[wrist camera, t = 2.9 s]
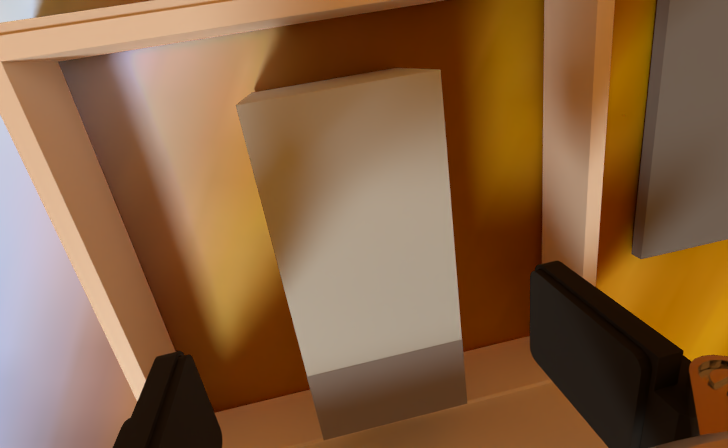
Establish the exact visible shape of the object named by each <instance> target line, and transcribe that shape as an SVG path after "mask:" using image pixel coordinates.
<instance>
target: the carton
mask: <svg viewBox="0 0 728 448" xmlns="http://www.w3.org/2000/svg"><path fill="white" fill-rule="evenodd" d="M438 1H445V0H152V1H145V2H139V3H132V4H125V5H118V6H112V7H105V8H98V9H91V10H85V11H78V12H71V13H64V14H57V15H51V16H44V17H37V18H30V19H24V20H17V21H10V22H3V23H0V115H1V117H2V119H3V121H4V123H5V125H6V127H7V129H8V131H9V133H10V136H11V138H12V140H13V142H14V144H15V146H16V148H17V150H18V152H19V154H20V157H21V159H22V161H23V163H24V165H25V167H26V169H27V171H28V173H29V175H30V178H31V180H32V182H33V184H34V186H35V188H36V190H37V192H38V194H39V196H40V198H41V201H42V203H43V205H44V207H45V209H46V211H47V213H48V215H49V217H50V219H51V222H52V224H53V226H54V228H55V230H56V232H57V234H58V236H59V238H60V240H61V243H62V245H63V247H64V249H65V251H66V253H67V255H68V257H69V259H70V261H71V264H72V266H73V268H74V270H75V272H76V274H77V276H78V278H79V280H80V282H81V285H82V287H83V289H84V291H85V293H86V295H87V297H88V299H89V301H90V303H91V305H92V308H93V310H94V312H95V314H96V316H97V318H98V320H99V322H100V324H101V326H102V329H103V331H104V333H105V335H106V337H107V339H108V341H109V343H110V345H111V347H112V350H113V352H114V354H115V356H116V358H117V360H118V362H119V364H120V366H121V368H122V371H123V373H124V375H125V377H126V379H127V381H128V383H129V385H130V387H131V389H132V391H133V394H134V396H135V398H136V400H137V401H138V399H139V396H140V394H141V391H142V389H143V387H144V384H145V382H146V379H147V377H148V374H149V372H150V369H151V367H152V364H153V362H154V360H155V358H156V357H157V356H160V355H165V354H169V353H173V352H176V351H175V349H174V346H173V344H172V342H171V339H170V337H169V334H168V332H167V329H166V327H165V324H164V322H163V319H162V317H161V314H160V312H159V309H158V307H157V305H156V302H155V300H154V297H153V295H152V292H151V290H150V287H149V285H148V282H147V280H146V277H145V275H144V273H143V270H142V268H141V265H140V263H139V260H138V258H137V255H136V253H135V250H134V248H133V245H132V243H131V241H130V238H129V236H128V233H127V231H126V228H125V226H124V223H123V221H122V218H121V216H120V213H119V211H118V208H117V206H116V204H115V201H114V199H113V196H112V194H111V191H110V189H109V186H108V184H107V181H106V179H105V176H104V174H103V172H102V169H101V167H100V164H99V162H98V159H97V157H96V154H95V152H94V149H93V147H92V144H91V142H90V140H89V137H88V135H87V132H86V130H85V127H84V125H83V122H82V120H81V117H80V115H79V112H78V110H77V108H76V105H75V103H74V100H73V98H72V95H71V93H70V90H69V88H68V85H67V83H66V80H65V78H64V75H63V73H62V71H61V68H60V66H59V63H58V62H59V61H66V60H72V59H78V58H85V57H91V56H97V55H104V54H110V53H116V52H122V51H129V50H135V49H141V48H148V47H154V46H160V45H167V44H173V43H179V42H186V41H192V40H198V39H205V38H211V37H217V36H224V35H230V34H236V33H243V32H249V31H255V30H261V29H268V28H274V27H280V26H287V25H293V24H299V23H306V22H312V21H318V20H325V19H331V18H337V17H344V16H350V15H356V14H363V13H369V12H375V11H382V10H388V9H394V8H400V7H407V6H413V5H419V4H426V3H432V2H438ZM614 7H615V0H544V93H543V191H542V264H544V263H548V262H552V261H560V262H562V263H563V264H564V265H566V266H567V267H569V268H570V269H571V270H573V271H574V272H576V273H577V274H578V275H580V276H581V277H582V278H584V279H585V280H587V281H588V282H589V283H591V284H592V285H593V286H595V287H596V274H597V259H598V244H599V229H600V214H601V200H602V185H603V170H604V155H605V140H606V126H607V111H608V96H609V81H610V66H611V52H612V37H613V22H614ZM463 354H464V367H465V380H466V393H467V404H464V405H460V406H456V407H452V408H449V409H445V410H441V411H437V412H433V413H429V414H425V415H421V416H417V417H413V418H410V419H406V420H402V421H398V422H394V423H390V424H386V425H382V426H378V427H375V428H371V429H367V430H363V431H359V432H355V433H351V434H347V435H343V436H339V437H336V438H332V439H328V440H323V436H322V432H321V428H320V425H319V421H318V417H317V413H316V409H315V406H314V402H313V398H312V394H311V390H306V391H302V392H298V393H294V394H290V395H286V396H281V397H277V398H273V399H269V400H265V401H261V402H257V403H253V404H249V405H245V406H240V407H236V408H232V409H228V410H224V411H220V412H216V413H215V416H216V418H217V421H218V423H219V426H220V428H221V432H222V448H608V447H607V445H606V444H605V443H604V442H603V441H602V439H601V438H600V437H599V436H598V435H597V434H596V432H595V431H594V430H593V429H592V428H591V426H590V425H589V424H588V423H587V422H586V421H585V419H584V418H583V417H582V416H581V415H580V413H579V412H578V411H577V410H576V409H575V408H574V406H573V405H572V404H571V403H570V402H569V400H568V399H567V398H566V397H565V396H564V394H563V393H562V392H561V391H560V390H559V389H558V387H557V386H556V385H555V384H554V383H553V381H552V380H551V379H550V378H549V377H548V376H547V374H546V373H545V372H544V371H543V370H542V368H541V367H540V366H539V365H538V364H537V363H536V361H535V360H534V358H533V357H532V354H531V351H530V336H527V337H523V338H519V339H515V340H511V341H507V342H503V343H498V344H494V345H490V346H486V347H482V348H478V349H474V350H470V351H466V352H463Z"/></svg>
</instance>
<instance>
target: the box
mask: <svg viewBox="0 0 728 448" xmlns="http://www.w3.org/2000/svg"><path fill="white" fill-rule="evenodd" d="M236 108H237V112H238V116H239V120H240V123H241V127H242V131H243V135H244V138H245V142H246V146H247V150H248V154H249V157H250V161H251V165H252V169H253V173H254V176H255V180H256V184H257V188H258V192H259V195H260V199H261V203H262V207H263V211H264V214H265V218H266V222H267V226H268V230H269V233H270V237H271V241H272V245H273V249H274V252H275V256H276V260H277V264H278V268H279V271H280V275H281V279H282V283H283V287H284V290H285V294H286V298H287V302H288V306H289V309H290V313H291V317H292V321H293V325H294V328H295V332H296V336H297V340H298V344H299V347H300V351H301V355H302V359H303V363H304V366H305V370H306V374H307V379H308V383H309V387H310V390H311V394H312V398H313V402H314V406H315V409H316V413H317V417H318V421H319V425H320V428H321V432H322V436H323V440H328V439H332V438H336V437H339V436H343V435H347V434H351V433H355V432H359V431H363V430H367V429H371V428H375V427H378V426H382V425H386V424H390V423H394V422H398V421H402V420H406V419H410V418H413V417H417V416H421V415H425V414H429V413H433V412H437V411H441V410H445V409H449V408H452V407H456V406H460V405H464V404H467V393H466V380H465V367H464V354H463V342H462V334H461V321H460V308H459V296H458V283H457V270H456V258H455V245H454V232H453V220H452V207H451V194H450V182H449V169H448V157H447V144H446V131H445V119H444V106H443V93H442V81H441V70H440V69H417V68H392V69H386V70H380V71H375V72H369V73H363V74H357V75H351V76H346V77H340V78H334V79H328V80H322V81H317V82H311V83H305V84H299V85H293V86H288V87H282V88H276V89H270V90H264V91H259V92H253V93H251V94H249V95H248V96H247V97H246V98H244V99H243V100H242V101H241V102H239V103H238V104H237V105H236Z"/></svg>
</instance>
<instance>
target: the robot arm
mask: <svg viewBox="0 0 728 448" xmlns="http://www.w3.org/2000/svg"><path fill="white" fill-rule="evenodd" d="M530 351H531V354H532V357H533V358H534V360H535V361H536V363H537V364H538V365H539V366H540V367H541V368H542V370H543V371H544V372H545V373H546V374H547V376H548V377H549V378H550V379H551V380H552V381H553V383H554V384H555V385H556V386H557V387H558V389H559V390H560V391H561V392H562V393H563V394H564V396H565V397H566V398H567V399H568V400H569V402H570V403H571V404H572V405H573V406H574V408H575V409H576V410H577V411H578V412H579V413H580V415H581V416H582V417H583V418H584V419H585V421H586V422H587V423H588V424H589V425H590V426H591V428H592V429H593V430H594V431H595V432H596V434H597V435H598V436H599V437H600V438H601V439H602V441H603V442H604V443H605V444H606V445H607V447H608V448H728V356H721V355H705V356H701V357H698V358H695V359H694V360H693V361H692V362H691V361H690V360H689V359H687V358H686V357H685V356H683V350H682V349H680V348H679V347H677V346H676V345H675V344H673V343H672V342H671V341H669V340H668V339H666V338H665V337H664V336H662V335H661V334H660V333H658V332H657V331H655V330H654V329H653V328H651V327H650V326H649V325H647V324H646V323H644V322H643V321H642V320H640V319H639V318H638V317H636V316H635V315H633V314H632V313H631V312H629V311H628V310H626V309H625V308H624V307H622V306H621V305H620V304H618V303H617V302H615V301H614V300H613V299H611V298H610V297H609V296H607V295H606V294H604V293H603V292H602V291H600V290H599V289H598V288H596V287H595V286H593V285H592V284H591V283H589V282H588V281H587V280H585V279H584V278H582V277H581V276H580V275H578V274H577V273H576V272H574V271H573V270H571V269H570V268H569V267H567V266H566V265H564V264H563V263H562V262H560V261H552V262H548V263H544V264H539V265H537V266H536V268H535V271H533V272H532V273H531V276H530ZM113 448H222V432H221V428H220V426H219V423H218V421H217V418H216V416H215V413H214V411H213V408H212V406H211V403H210V401H209V398H208V396H207V393H206V391H205V388H204V386H203V383H202V381H201V378H200V376H199V373H198V371H197V368H196V366H195V363H194V361H193V358H192V356H191V355H184V354H183V352H182V351H177V352H173V353H169V354H165V355H160V356H157V357H156V358H155V360H154V362H153V364H152V367H151V369H150V372H149V374H148V377H147V379H146V382H145V384H144V387H143V389H142V391H141V394H140V396H139V399H138V401H137V404H136V406H135V409H134V411H133V414H132V416H131V418H129V419H128V420H126V421H125V422H124V424H123V426H122V427H121V430H120V432H119V434H118V437H117V439H116V441H115V444H114V446H113Z"/></svg>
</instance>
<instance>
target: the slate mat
mask: <svg viewBox="0 0 728 448" xmlns="http://www.w3.org/2000/svg"><path fill="white" fill-rule="evenodd" d="M726 239H728V0H657V10H656V20H655V30H654V40H653V49H652V59H651V69H650V79H649V88H648V98H647V108H646V118H645V128H644V137H643V147H642V157H641V167H640V177H639V186H638V196H637V206H636V216H635V226H634V235H633V245H632V254H633V255H634V256H636V257H638V258H640V259H644V258H648V257H652V256H657V255H661V254H665V253H670V252H674V251H678V250H683V249H687V248H691V247H696V246H700V245H704V244H709V243H713V242H717V241H721V240H726Z"/></svg>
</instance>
